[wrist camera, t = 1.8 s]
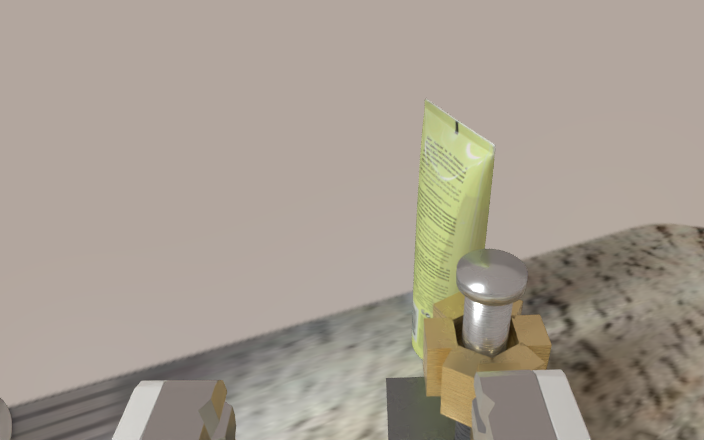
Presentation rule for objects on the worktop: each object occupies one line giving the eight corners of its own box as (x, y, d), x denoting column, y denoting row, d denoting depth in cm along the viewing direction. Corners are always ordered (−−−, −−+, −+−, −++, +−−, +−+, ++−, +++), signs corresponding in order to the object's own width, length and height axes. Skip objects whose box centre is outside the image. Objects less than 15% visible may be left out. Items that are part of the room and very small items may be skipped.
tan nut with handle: (442, 557, 24) (447, 488, 20) (419, 348, 34) (420, 278, 30) (586, 557, 23) (616, 485, 20) (520, 345, 33) (531, 274, 30)
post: (391, 528, 30) (382, 352, 22) (386, 386, 39) (378, 217, 30) (584, 527, 30) (654, 344, 21) (537, 383, 38) (573, 209, 29)
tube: (489, 333, 42) (515, 107, 31) (472, 381, 38) (495, 143, 27) (422, 315, 44) (425, 97, 33) (401, 358, 41) (395, 129, 30)
